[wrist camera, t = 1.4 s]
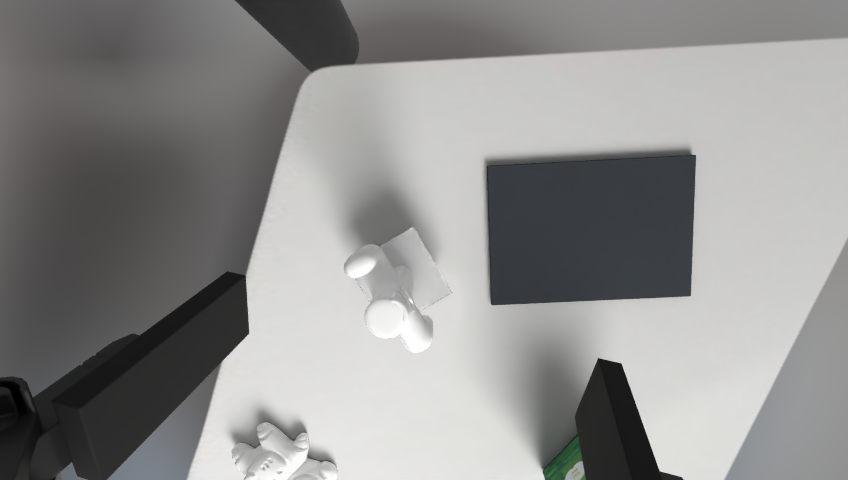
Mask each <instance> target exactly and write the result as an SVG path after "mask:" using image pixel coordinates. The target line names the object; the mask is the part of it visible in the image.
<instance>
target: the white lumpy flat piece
mask: <svg viewBox="0 0 848 480" xmlns="http://www.w3.org/2000/svg"><path fill="white" fill-rule="evenodd" d="M257 431H258V438H261V439H260V444H261V445H260V446H258V447H257V448H256V449H255V448H253V447H251V446H249V445H248V444H245V443H238V444H237V445H235V446H234V448H233V449H232V458H233V459H234V460H236V462H235V465H236V466H237V468H238V469H239V470H240V471H241V472H242V473H244V474H245V475H246V477H245V478H244V480H337V479H336V477H337V468H336V466H335V465H334V464H333V463H331V462H328V461H323V462H319V461H317V460H313V459H309V458H308V457H307V455H308V449H309V439H308V436H307V434H306V433H301V434H300V435H298V437H297V438H296V440H294V441H292V440H290V439H289V438H288V437H287V436H286V435H285V434H284V433H283V432H282V431H281V430H279V429H278V428H277V427H275V426H274V425H272V424H270V423H267V422H265V423H262V424H260V425H259V426H258V428H257Z"/></svg>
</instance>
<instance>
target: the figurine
mask: <svg viewBox="0 0 848 480" xmlns="http://www.w3.org/2000/svg"><path fill="white" fill-rule="evenodd" d="M344 271H345V273H346V274H347V275H348V276H349V277H352V278H355V280H356V281H357V283H358V285H359V286H360V288H361V289H362V291H363V293H364V294H365V296H366V297H367V299H368V301H369V302H370V304H369V306H368V307H367V309H366V311H365V322H366V325H367V327H368V329H369V330H370V331H371V332H372V333H373V334H374V335H376V336H378V337H380V338H393V337H395V336H397V335H398V336H399V338H400V339H401V341H402V342H403V344H404V346H405V347H406V348H407V349H408V350H409V351H411V352H414V353H417V352H421V351H423V350H425V349H426V348H427V347H428V346H429V345H430V343H431V342H432V339H433V321H432V319H431V318H430V317H429V316H427V315H421V313H420V312H419V311H421V310H423V309H425V308H426V307H428V306H430V305H432V304H434V303H435V302H437V301H439V300H441V299H442V298H444V297H446V296H448V295H449V294H451V293H452V291H451V289H450V287H449V286H448V284H447V282H446V281H445V279H444V277H443V276H442V274H441V272H440V271H439V269H438V267H437V266H436V264H435V262H434V260H433V259H432V257H431V255H430V254H429V252H428V250H427V249H426V247H425V245H424V244H423V242H422V240H421V239H420V237H419V235H418V233H417V232H416V230H415V228H414V227H412V228H410V229H408V230H406V231H405V232H403V233H401V234H400V235H398V236H396V237H394V238H393V239H391V240H389V241H388V242H386V243H384V244H383V245H381V246H377V245H375V244H369V245H365V246H363V247H361V248H360V249H358V250H357V251H356V252H355V253H354V254H352V255H351V256H350V257H349V258H348V259H347V260H346V262H345V264H344Z"/></svg>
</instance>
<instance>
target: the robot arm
mask: <svg viewBox="0 0 848 480" xmlns="http://www.w3.org/2000/svg"><path fill="white" fill-rule="evenodd" d="M248 334H249V323H248V307H247V290H246V276H245V275H240V274H236V273H232V272H228V271H227V272H226V273H225V274H223V275H222V276H220V277H219V278H218V279H216V280H215V281H214V282H212V283H211V284H210V285H208V286H207V287H205V288H204V289H203V290H201V291H200V292H199V293H197V294H196V295H195V296H193V297H192V298H190V299H189V300H188V301H186V302H185V303H184V304H182V305H181V306H180V307H178V308H177V309H175V310H174V311H173V312H171V313H170V314H169V315H167V316H166V317H164V318H163V319H162V320H160V321H159V322H158V323H156V324H155V325H154V326H152V327H151V328H150V329H148V330H147V331H145V332H144V333H143V334H141V335H140V336H139V335H136V334H130V335H128V336H126V337H123V338H121V339H119V340H116V341H114V342H112V343H111V344H109V345H108V346H106V347H105V348H103V349H102V350H101V351H99V352H98V353H97V354H96V355H95V356H92V357H90V358H89V359H88V360H86V361H85V362H83V365H79V366H78V367H76V368H75V369H73V370H72V371H70V372H69V373H68V374H66V375H65V376H63V377H62V378H60V379H59V380H58V381H56V382H55V383H53V384H52V385H50V386H49V387H48V388H46V389H45V390H43V391H42V392H40V393H39V394H38V395H36V396H35V397H33V398H32V395H31V392H30V389H29V387H28V384H27V382H25V381H24V380H23V379H22V378H17V377H3V378H0V480H61V473H60V472H61V471H62V470H63V469H64V468H65V467H66V466H68V465H69V464H70V463H71V462H72V463H73V465H74V468H75V471H76V474H77V476H78V477H81V478H84V479H88V480H107V479H108V478H109V477H110V476H111V475H112V474H113V473H114V472H115V471H116V470H117V468H118V467H120V465H121V464H122V463H123V462H124V461H125V460H126V459H127V458H128V457H129V456H130V455H131V454H132V453H133V452H134V451H135V450H136V449H137V448H138V447H139V446H140V445H141V444H142V443H143V442H144V441H145V440H146V439H147V438H148V437H149V436H150V435H151V434H152V433H153V432H154V431H155V430H156V429H157V428H158V426H159V425H160V424H161V423H162V422H163V421H164V420H165V419H166V418H167V417H168V416H169V415H170V414H171V413H172V412H173V411H174V410H175V409H176V408H177V407H178V406H179V405H180V404H181V403H182V402H183V401H184V400H185V399H186V398H187V397H188V395H190V394H191V392H193V391H194V390H195V388H196V387H197V386H198V385H199V384H200V383H201V382H202V381H203V380H204V379H205V378H206V377H207V376H208V375H209V374H210V373H211V372H212V371H213V370H214V369H215V368H216V367H217V366H218V365H219V364H220V363H221V362H222V361H223V360H224V359H225V358H226V357H227V356H228V355H229V354H230V353H231V352H232V351H233V349H234V348H235V347H236V346H237V345H238V344H239V343H240V342H241V341H242V340H243V339H244V338H245V337H246V336H247V335H248ZM575 420H576V426H577V432H578V438H579V444H580V449H581V455H582V461H583V467H584V473H585V479H586V480H683V478H682V477H679V476H675V475H671V474H667V473H663V472H660V471H659V469H658V466H657V463H656V460H655V457H654V454H653V452H652V449H651V446H650V443H649V440H648V437H647V435H646V432H645V429H644V426H643V423H642V421H641V418H640V415H639V412H638V409H637V406H636V404H635V401H634V398H633V395H632V392H631V389H630V387H629V384H628V381H627V378H626V375H625V372H624V370H623V367H622V364H621V363H616V362H612V361H608V360H603V359H599V358H598V360H597V363H596V365H595V367H594V370H593V372H592V375H591V377H590V380H589V382H588V385H587V387H586V390H585V392H584V395H583V397H582V400H581V402H580V404H579V407H578V409H577V412H576V414H575Z"/></svg>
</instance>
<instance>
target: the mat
mask: <svg viewBox="0 0 848 480" xmlns="http://www.w3.org/2000/svg"><path fill="white" fill-rule="evenodd" d="M695 166H696V155H685V156H666V157H647V158H628V159H609V160H590V161H571V162H552V163H533V164H514V165H495V166H487V182H488V215H489V248H490V281H491V304H492V305H506V304H528V303H550V302H572V301H595V300H617V299H639V298H661V297H683V296H691V274H692V247H693V220H694V193H695Z"/></svg>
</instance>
